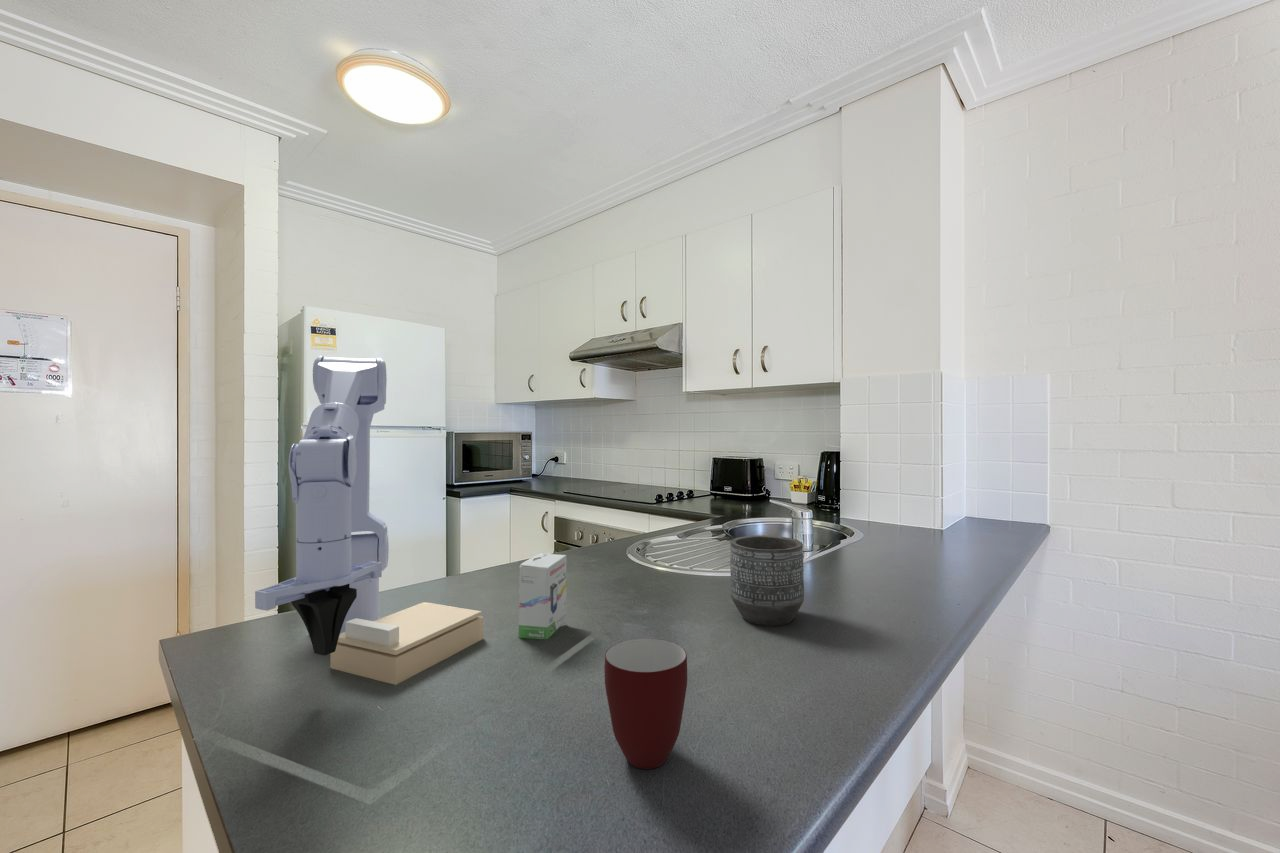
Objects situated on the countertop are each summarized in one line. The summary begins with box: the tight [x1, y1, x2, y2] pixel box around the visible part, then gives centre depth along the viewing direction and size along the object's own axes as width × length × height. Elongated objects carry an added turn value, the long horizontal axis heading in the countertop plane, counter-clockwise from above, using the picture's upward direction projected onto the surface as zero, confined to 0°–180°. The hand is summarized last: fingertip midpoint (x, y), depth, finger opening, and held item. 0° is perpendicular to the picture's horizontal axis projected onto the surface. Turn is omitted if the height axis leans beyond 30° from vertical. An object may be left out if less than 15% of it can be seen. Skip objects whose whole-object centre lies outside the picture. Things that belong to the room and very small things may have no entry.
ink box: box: [518, 552, 568, 640], centre depth 84 cm, size 9×5×12 cm, turn 168°
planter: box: [729, 535, 805, 627], centre depth 91 cm, size 12×12×13 cm
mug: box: [604, 638, 688, 770], centre depth 53 cm, size 10×8×10 cm
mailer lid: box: [338, 601, 482, 655], centre depth 76 cm, size 12×16×3 cm
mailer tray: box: [329, 616, 485, 686], centre depth 76 cm, size 12×16×4 cm
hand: (324, 652), depth 64 cm, fingers closed
